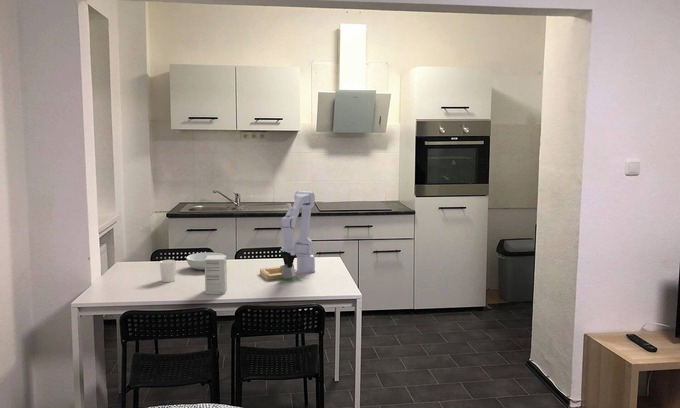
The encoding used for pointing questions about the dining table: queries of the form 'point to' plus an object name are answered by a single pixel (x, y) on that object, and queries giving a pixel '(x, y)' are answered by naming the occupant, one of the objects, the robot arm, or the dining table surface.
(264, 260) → the dining table surface
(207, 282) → the supplement box
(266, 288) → the dining table surface
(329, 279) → the dining table surface
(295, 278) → the flat green panel
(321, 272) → the dining table surface
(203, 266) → the serving bowl
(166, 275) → the white cup
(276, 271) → the tan wooden shallow tray
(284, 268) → the grey box
